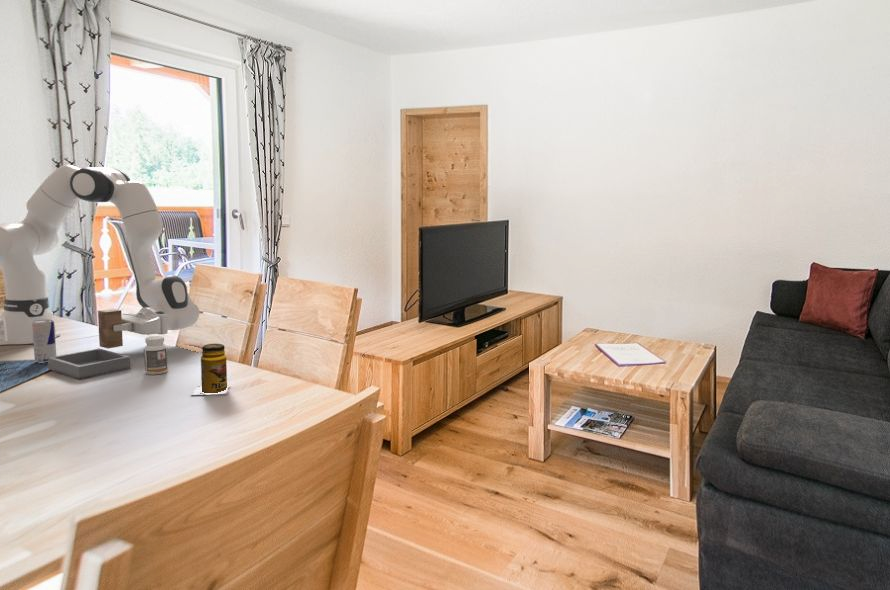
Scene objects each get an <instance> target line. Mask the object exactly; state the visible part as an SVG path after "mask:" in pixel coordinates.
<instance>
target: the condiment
mask: <svg viewBox="0 0 890 590" xmlns="http://www.w3.org/2000/svg"><path fill="white" fill-rule="evenodd" d="M225 348H226V347H225V345H224V344H222V343H208V344H204V345H203V346H202V348H201V349H202V351H201V357H200V374H201V375H200V379H201V385H200V386H202V392H204V393H218V392H221V391H224V390H226V388H227V386H228V373H227V372H228V368H227V367H228V366H227V361H228V360H227V355H226V354H225V353H226V351H225ZM200 386H199V387H200Z"/></svg>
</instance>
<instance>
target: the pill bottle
mask: <svg viewBox="0 0 890 590" xmlns="http://www.w3.org/2000/svg"><path fill="white" fill-rule="evenodd" d="M144 339H145V341H144V343H145V344H146V345H145V346H144V347H143V348H144V349H143V353H144V354H143V355H144V371H145V373H146V374H147V375H151V376H152V375H153V376H156V375H163V374H165V373H167V372H168V371H169V370H168V369H169V368H168V367H169V365H168V349H167V346H166V344H164V343H165V337H164V336H162V335H154V336H147V337H145V338H144Z"/></svg>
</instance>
